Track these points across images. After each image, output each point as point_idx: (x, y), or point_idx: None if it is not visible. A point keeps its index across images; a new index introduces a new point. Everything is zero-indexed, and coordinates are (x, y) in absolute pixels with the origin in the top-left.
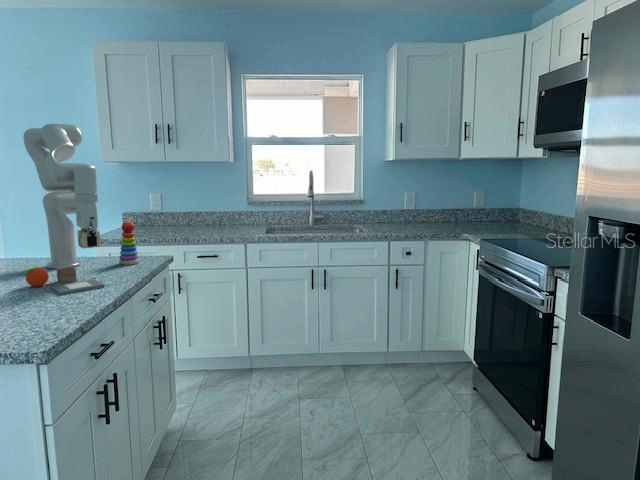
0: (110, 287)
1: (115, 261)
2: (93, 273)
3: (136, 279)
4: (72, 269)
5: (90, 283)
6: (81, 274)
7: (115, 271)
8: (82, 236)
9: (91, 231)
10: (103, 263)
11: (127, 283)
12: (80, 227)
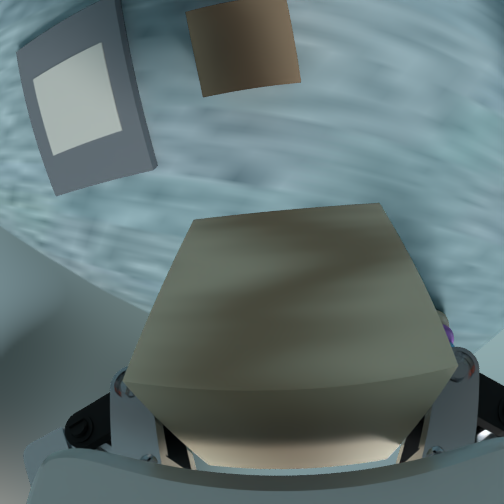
0: (57, 208)
1: (476, 301)
2: (354, 193)
3: (138, 297)
4: (200, 78)
5: (85, 149)
6: (372, 141)
7: None
8: (163, 325)
9: (67, 427)
10: (486, 266)
11: (92, 263)
12: (308, 482)
